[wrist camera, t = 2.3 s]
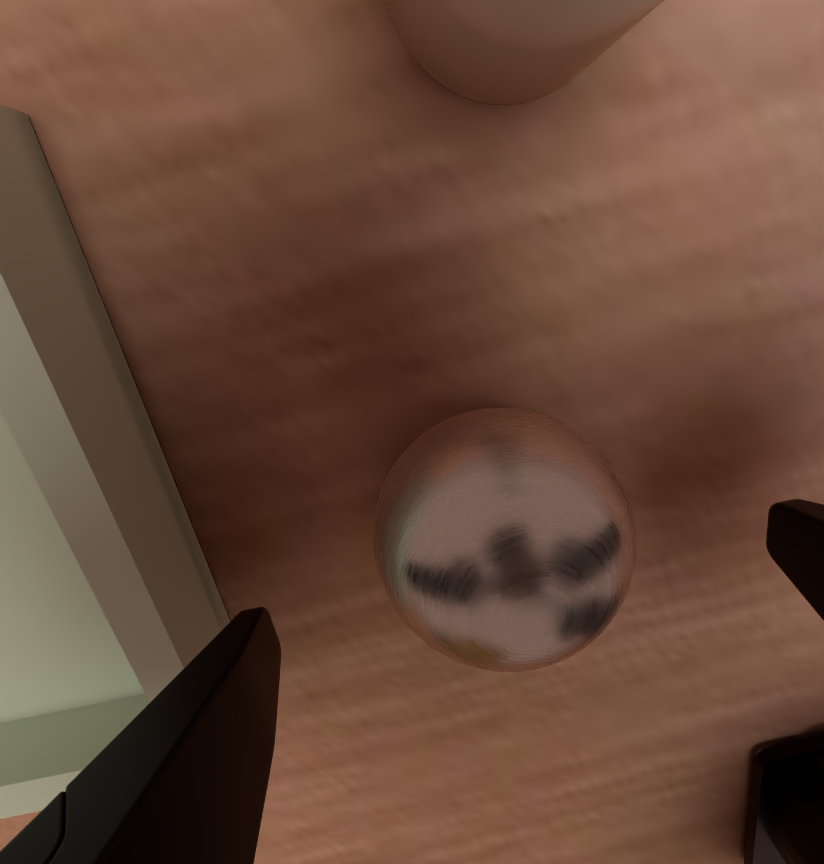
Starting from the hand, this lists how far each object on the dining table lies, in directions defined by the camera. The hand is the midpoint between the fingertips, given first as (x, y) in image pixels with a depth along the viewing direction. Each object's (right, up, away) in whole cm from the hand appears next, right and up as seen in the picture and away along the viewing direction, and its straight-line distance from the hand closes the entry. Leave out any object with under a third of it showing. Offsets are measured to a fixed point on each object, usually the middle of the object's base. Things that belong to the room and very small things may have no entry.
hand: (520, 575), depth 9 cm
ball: (0, +1, +4) cm, 4 cm away
